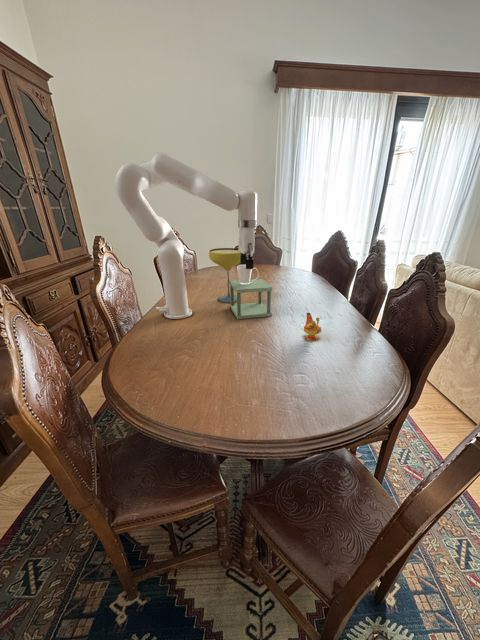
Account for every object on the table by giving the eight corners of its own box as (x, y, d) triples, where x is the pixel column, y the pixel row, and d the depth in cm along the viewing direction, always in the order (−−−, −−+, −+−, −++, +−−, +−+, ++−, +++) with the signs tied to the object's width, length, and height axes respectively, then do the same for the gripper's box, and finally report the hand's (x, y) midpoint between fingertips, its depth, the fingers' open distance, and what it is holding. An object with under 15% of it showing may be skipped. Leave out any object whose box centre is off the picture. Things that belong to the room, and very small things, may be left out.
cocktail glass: (252, 298, 156) (252, 250, 144) (232, 307, 142) (230, 255, 130) (226, 292, 164) (224, 246, 152) (204, 300, 150) (200, 251, 139)
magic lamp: (314, 327, 122) (317, 302, 117) (324, 346, 106) (328, 318, 101) (298, 327, 121) (300, 302, 116) (306, 346, 105) (309, 318, 100)
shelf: (237, 319, 128) (236, 289, 122) (230, 307, 142) (229, 280, 135) (271, 316, 132) (272, 287, 126) (261, 305, 146) (261, 278, 140)
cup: (236, 282, 133) (235, 264, 129) (257, 281, 134) (257, 264, 131) (237, 286, 126) (237, 267, 123) (260, 285, 128) (260, 267, 124)
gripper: (233, 222, 125) (234, 262, 133) (243, 226, 110) (243, 271, 118) (250, 223, 127) (249, 262, 135) (262, 226, 113) (260, 270, 120)
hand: (246, 266), depth 127 cm, fingers open, 9 cm apart
